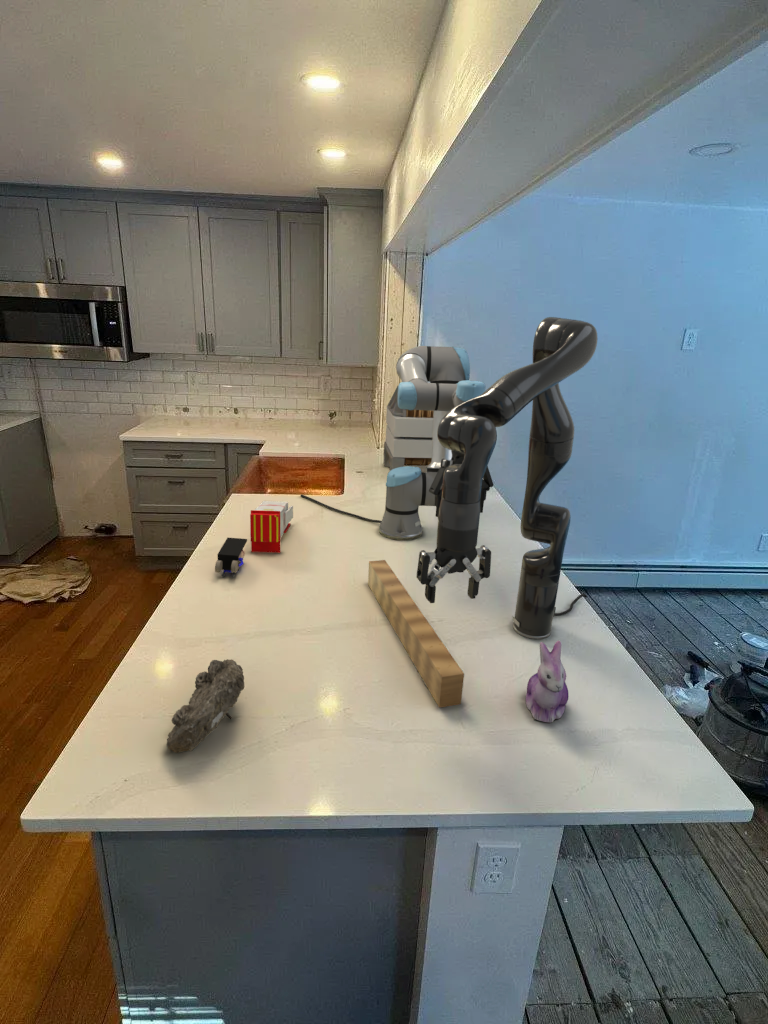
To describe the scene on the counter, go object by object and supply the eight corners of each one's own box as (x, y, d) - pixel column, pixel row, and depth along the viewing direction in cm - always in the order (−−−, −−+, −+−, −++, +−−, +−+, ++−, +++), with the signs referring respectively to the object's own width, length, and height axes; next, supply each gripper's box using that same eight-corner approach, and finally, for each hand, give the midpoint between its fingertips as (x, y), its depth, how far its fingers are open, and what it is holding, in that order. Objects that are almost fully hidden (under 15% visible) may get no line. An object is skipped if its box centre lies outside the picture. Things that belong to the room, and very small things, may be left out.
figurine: (546, 731, 108) (557, 664, 103) (511, 699, 116) (520, 636, 111) (582, 717, 112) (595, 652, 107) (546, 687, 121) (556, 626, 116)
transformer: (382, 463, 289) (386, 382, 275) (445, 464, 293) (451, 384, 279) (390, 482, 257) (394, 392, 243) (460, 483, 261) (468, 394, 247)
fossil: (192, 660, 117) (244, 628, 112) (224, 691, 120) (276, 661, 115) (142, 746, 98) (202, 712, 93) (182, 779, 101) (242, 748, 96)
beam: (367, 584, 162) (368, 561, 160) (383, 582, 164) (385, 559, 161) (439, 707, 113) (441, 677, 111) (461, 704, 115) (464, 673, 112)
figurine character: (238, 584, 162) (249, 557, 175) (236, 562, 158) (247, 536, 172) (215, 584, 161) (227, 556, 175) (212, 561, 158) (225, 535, 171)
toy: (295, 495, 204) (283, 512, 175) (295, 531, 207) (283, 554, 178) (261, 494, 204) (243, 511, 175) (262, 530, 207) (244, 553, 177)
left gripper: (435, 446, 143) (429, 525, 150) (511, 439, 155) (502, 512, 162) (419, 440, 149) (414, 515, 156) (493, 434, 161) (486, 504, 168)
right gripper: (429, 531, 99) (423, 612, 105) (502, 526, 103) (493, 604, 109) (415, 516, 106) (410, 593, 112) (484, 512, 110) (476, 586, 116)
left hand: (459, 514), depth 159 cm, fingers open, 13 cm apart
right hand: (451, 599), depth 110 cm, fingers open, 8 cm apart
